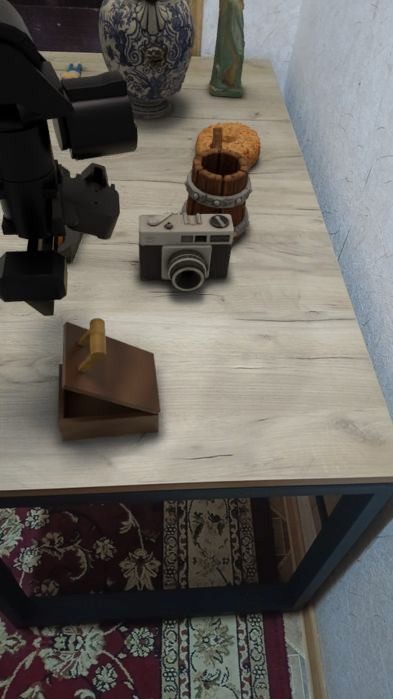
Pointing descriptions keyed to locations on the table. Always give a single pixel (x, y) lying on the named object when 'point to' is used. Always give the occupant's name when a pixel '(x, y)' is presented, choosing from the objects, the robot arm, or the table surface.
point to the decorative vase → (148, 49)
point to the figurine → (72, 72)
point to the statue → (228, 50)
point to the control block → (70, 244)
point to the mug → (219, 184)
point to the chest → (99, 417)
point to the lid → (108, 368)
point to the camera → (185, 248)
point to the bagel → (232, 140)
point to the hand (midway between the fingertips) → (51, 285)
